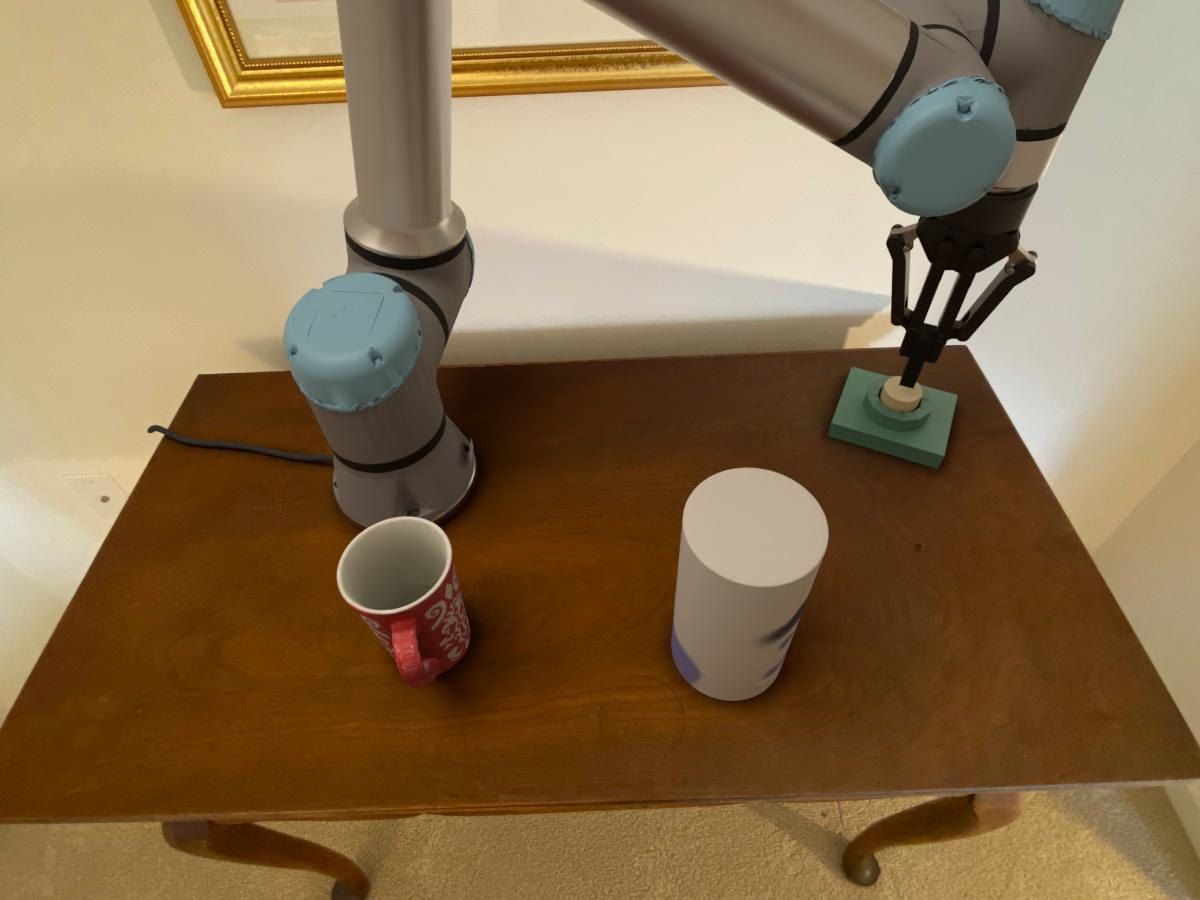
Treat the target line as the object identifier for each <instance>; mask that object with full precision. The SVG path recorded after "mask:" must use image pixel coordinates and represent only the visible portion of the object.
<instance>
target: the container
mask: <svg viewBox="0 0 1200 900" xmlns="http://www.w3.org/2000/svg"><path fill="white" fill-rule="evenodd" d="M827 520H828V519H827V517H826V514H825V512H824V510H823V508H822V507H821V505H820V503H819V502H818V500H817V499H816V497H815V496H814V495H813V494H812V493H811V492H810V491H809V490H807V489H806V488H805V487H804V486H803V485H801V484H800V482H799V483H798V482H797V481H795V480H794V479H792V478H790V477H788V476H787V475H785V474H782V473H779V472H777V471H773V470H769V469H764V468H758V467H737V468H730V469H726V470H723V471H720V472H717V473H715V474H713V475H711V476H709V477H707V478H706V479H704V480H703V481H702V482H700V483H699V484H698V485H697V486H696V487H695V488H694V489H693V490H692V492H691V493H690V495H689V496H688V498H687V500H686V502H685V505H684V507H683V513H682V521H681V523H682V524H681V534H680V544H679V553H678V554H679V555H678V565H677V574H676V575H677V576H676V586H675V596H674V597H675V598H674V608H673V618H672V627H671V639H670V648H671V649H670V651H671V654H672V659H673V662H674V665H675V666H676V668H677V670H678V671H679V674H680V675H681V676H682V678H683V679H684V680H685V681H686V682H687V683H688V684H689V685H690V686H691V687H692V688H694V689H695V690H696V691H698V692H700V693H701V694H703V695H704V696H705V695H706V696H707V697H710V698H713V699H716V700H721V701H727V702H739V701H745V700H749V699H751V698H754V697H756V696H758V695H760V694H762V693H763V692H765V691H767V689H768V688H769V687H770V686H771V685H772V684H773V683H774V682H775V680H777V677H778V675H779V673H780V671H781V668H782V666H783V664H784V660H785V658H786V655H787V653H788V650H789V648H790V644H791V642H792V640H793V637H794V634H795V632H796V630H797V627H798V625H799V622H800V619H801V616H802V613H803V611H804V608H805V605H806V604H807V603H806V602H807V599H808V597H809V594H810V593H811V590H812V587H813V584H814V582H815V579H816V578H817V575H818V571H819V570H820V566H821V564H822V562H823V559H824V556H825V554H826V552H827V548H828V543H829V536H830V535H829V533H830V532H829V524H828V521H827Z"/></svg>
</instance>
